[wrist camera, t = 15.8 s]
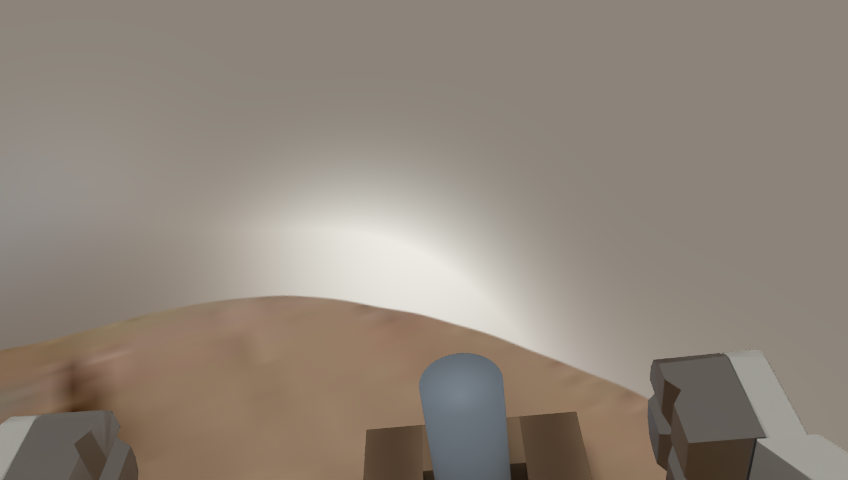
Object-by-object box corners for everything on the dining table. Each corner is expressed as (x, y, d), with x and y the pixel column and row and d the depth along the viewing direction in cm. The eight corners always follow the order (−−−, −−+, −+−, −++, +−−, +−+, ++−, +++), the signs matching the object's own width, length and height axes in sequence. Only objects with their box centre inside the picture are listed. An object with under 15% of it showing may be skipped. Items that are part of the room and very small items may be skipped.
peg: (433, 557, 45) (402, 387, 37) (478, 511, 47) (458, 342, 39) (485, 600, 43) (464, 428, 35) (531, 550, 45) (520, 377, 37)
